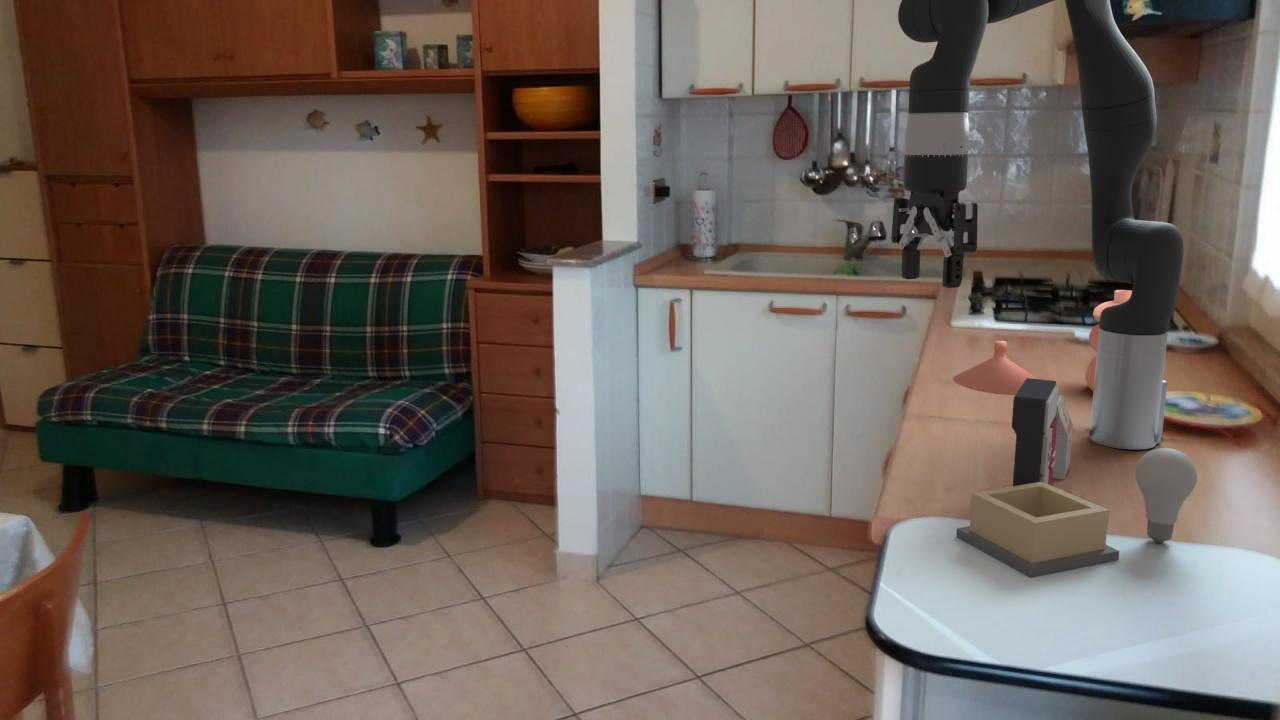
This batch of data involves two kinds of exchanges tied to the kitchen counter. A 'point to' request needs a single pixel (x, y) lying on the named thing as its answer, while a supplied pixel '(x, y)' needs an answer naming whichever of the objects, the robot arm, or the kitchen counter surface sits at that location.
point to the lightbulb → (1164, 488)
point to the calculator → (1035, 431)
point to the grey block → (1062, 440)
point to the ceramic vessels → (1009, 377)
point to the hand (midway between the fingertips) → (930, 282)
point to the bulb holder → (1038, 529)
